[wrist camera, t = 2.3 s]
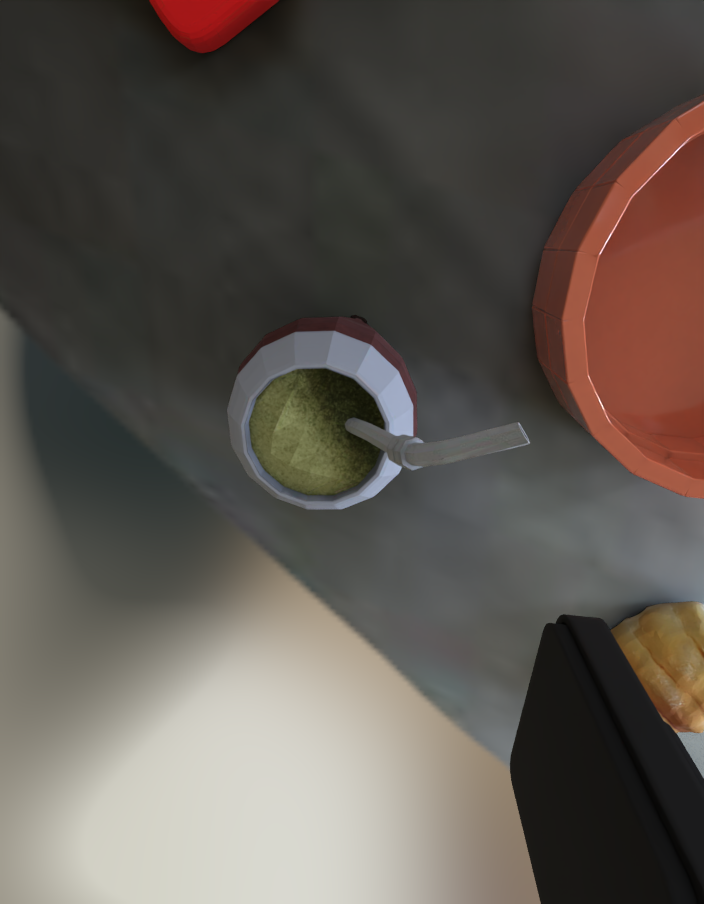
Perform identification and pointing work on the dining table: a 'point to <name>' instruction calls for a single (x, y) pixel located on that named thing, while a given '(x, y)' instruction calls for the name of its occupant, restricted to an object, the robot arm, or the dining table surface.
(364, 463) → the mate gourd
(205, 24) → the popsicle
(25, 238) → the dining table surface
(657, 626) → the pastry
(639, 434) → the terracotta bowl
